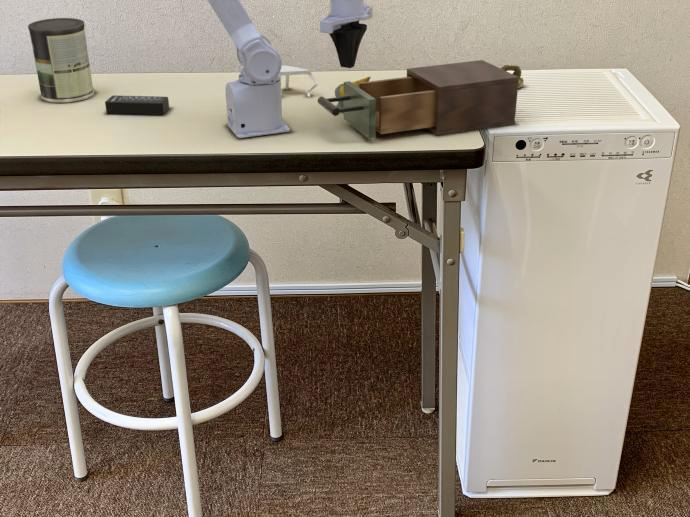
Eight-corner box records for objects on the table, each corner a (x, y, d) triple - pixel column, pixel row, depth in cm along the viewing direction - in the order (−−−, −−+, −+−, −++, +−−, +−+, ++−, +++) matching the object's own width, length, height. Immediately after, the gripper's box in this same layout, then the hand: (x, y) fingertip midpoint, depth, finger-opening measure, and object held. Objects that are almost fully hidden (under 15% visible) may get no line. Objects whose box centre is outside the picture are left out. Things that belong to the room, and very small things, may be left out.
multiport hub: (163, 115, 154) (162, 103, 153) (105, 114, 155) (104, 102, 154) (170, 108, 158) (168, 96, 157) (113, 106, 159) (112, 95, 158)
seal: (449, 96, 168) (524, 96, 166) (450, 73, 165) (527, 74, 164) (448, 78, 175) (520, 78, 174) (449, 56, 173) (522, 57, 171)
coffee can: (32, 102, 162) (18, 29, 155) (53, 87, 171) (41, 17, 164) (83, 103, 161) (71, 29, 154) (102, 88, 170) (92, 18, 163)
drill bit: (348, 104, 161) (382, 74, 155) (346, 123, 158) (380, 94, 151) (326, 90, 159) (360, 59, 152) (324, 109, 155) (358, 78, 149)
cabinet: (436, 135, 144) (439, 87, 140) (405, 114, 154) (406, 68, 150) (514, 124, 149) (519, 77, 145) (479, 104, 159) (482, 59, 155)
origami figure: (255, 99, 163) (254, 74, 161) (263, 87, 170) (262, 63, 168) (316, 100, 162) (316, 75, 160) (321, 88, 169) (321, 64, 167)
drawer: (337, 143, 138) (336, 103, 135) (313, 123, 147) (312, 85, 144) (445, 128, 145) (447, 90, 141) (416, 109, 154) (417, 73, 151)
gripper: (345, -5, 133) (346, 79, 139) (388, -19, 144) (386, 60, 150) (308, -8, 136) (310, 74, 142) (352, -22, 147) (352, 55, 153)
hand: (347, 66), depth 146 cm, fingers closed
